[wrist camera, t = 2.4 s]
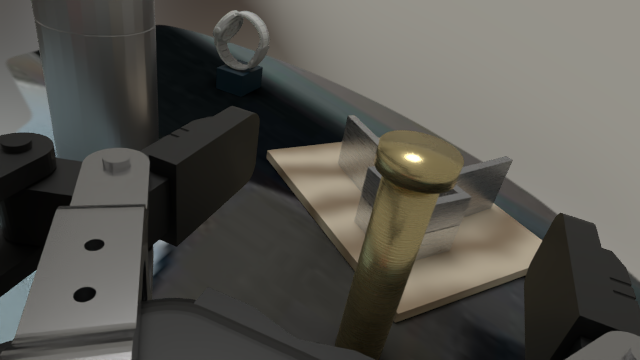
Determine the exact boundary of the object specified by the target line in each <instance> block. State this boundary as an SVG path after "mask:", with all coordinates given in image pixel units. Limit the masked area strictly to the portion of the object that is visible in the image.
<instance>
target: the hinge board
mask: <svg viewBox="0 0 640 360" xmlns="http://www.w3.org/2000/svg"><path fill="white" fill-rule="evenodd" d="M378 139H379V140H380V138H378ZM341 146H342V142H338V143H329V144H320V145H311V146H303V147H294V148H285V149H276V150H267V159H268V161H269V162H270V163H271V164H272V166H273V167H274V168H275V170H276V171H277V172H278V173H279V175H280V176H281V177H282V178H283V180H284V181H285V182H286V184H287V185H288V186H289V187H290V189H291V190H292V191H293V193H294V194H295V195H296V196H297V198H298V199H299V200H300V202H301V203H302V204H303V205H304V207H305V208H306V209H307V211H308V212H309V213H310V214H311V216H312V217H313V218H314V220H315V221H316V222H317V223H318V225H319V226H320V227H321V229H322V230H323V231H324V232H325V234H326V235H327V236H328V238H329V239H330V240H331V241H332V243H333V244H334V245H335V246H336V248H337V249H338V250H339V252H340V253H341V254H342V255H343V257H344V258H345V259H346V261H347V262H348V263H349V264H350V266H351V267H352V268H353V270H354V271H355V270H356V267H357V263H358V259H359V256H360V252H361V248H362V245H363V241H364V238H365V233H364V232H363V231H362V230H361V229H360V227H359V226H358V225H357V224H356V223H355V222H354V220H355V216H356V212H357V208H358V204H359V200H360V196H361V191H360V190H359V189H358V188H357V187H356V185H355V184H354V183H353V182H352V180H351V179H350V178H349V177H348V176H347V174H346V173H345V172H344V171H343V169H342V168H341V167H340V166H339V165H338V160H339V155H340V151H341ZM541 242H542V240H541V239H539V238H538V237H537V236H535V235H534V234H533V233H532V232H530V231H529V230H528V229H526V228H525V227H524V226H522V225H521V224H520V223H518V222H517V221H516V220H515V219H513V218H512V217H511V216H509V215H508V214H507V213H505V212H504V211H503V210H502V209H500V208H499V207H498V206H496V205H495V204H494V203H493V205H492V208H490V209H487V210H484V211H481V212H479V213H476V214H473V215H470V216H467V217H464V218H463V220H462V222H461V224H460V227H459V229H458V232H457V234H456V236H455V239H454V241H453V244H452V246H451V249H450V251H447V252H444V253H440V254H437V255H433V256H430V257H426V258H423V259H419V260H416V261H415V262H414V265H413V268H412V270H411V273H410V276H409V279H408V281H407V284H406V287H405V290H404V292H403V295H402V298H401V301H400V303H399V306H398V309H397V311H396V314H395V317H394V320H393V321H394V322H395V323H396V322H399V321H402V320H404V319H407V318H410V317H413V316H415V315H418V314H421V313H424V312H426V311H429V310H432V309H434V308H437V307H440V306H443V305H445V304H448V303H451V302H454V301H456V300H459V299H462V298H465V297H467V296H470V295H473V294H476V293H478V292H481V291H484V290H487V289H489V288H492V287H495V286H498V285H500V284H503V283H506V282H509V281H511V280H514V279H517V278H520V277H522V276H525V275H526V274H527V270H528V268H529V265H530V263H531V261H532V259H533V257H534V255H535V253H536V252H537V250H538V248H539V246H540V244H541Z"/></svg>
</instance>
